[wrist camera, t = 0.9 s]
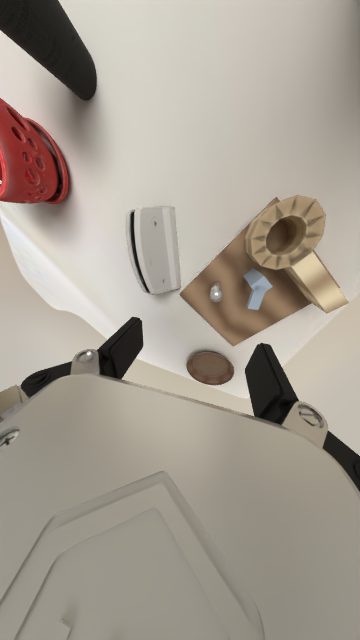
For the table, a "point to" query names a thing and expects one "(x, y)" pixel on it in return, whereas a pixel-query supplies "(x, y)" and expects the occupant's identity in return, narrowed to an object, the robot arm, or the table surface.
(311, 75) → the table surface
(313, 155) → the table surface
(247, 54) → the table surface
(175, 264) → the white rounded block
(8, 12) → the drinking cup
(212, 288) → the peg
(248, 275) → the bracket
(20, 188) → the plant pot
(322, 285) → the link
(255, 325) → the board
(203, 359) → the saucer
